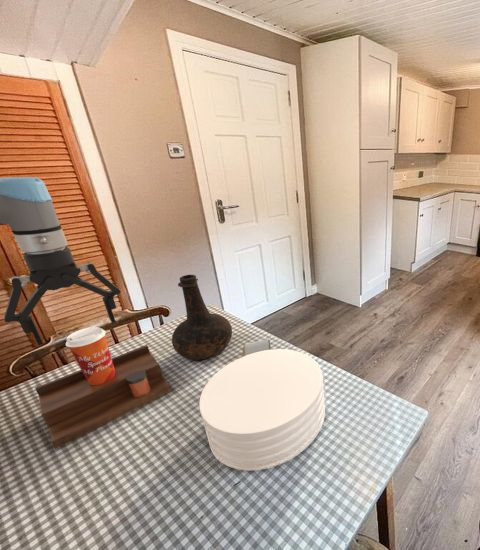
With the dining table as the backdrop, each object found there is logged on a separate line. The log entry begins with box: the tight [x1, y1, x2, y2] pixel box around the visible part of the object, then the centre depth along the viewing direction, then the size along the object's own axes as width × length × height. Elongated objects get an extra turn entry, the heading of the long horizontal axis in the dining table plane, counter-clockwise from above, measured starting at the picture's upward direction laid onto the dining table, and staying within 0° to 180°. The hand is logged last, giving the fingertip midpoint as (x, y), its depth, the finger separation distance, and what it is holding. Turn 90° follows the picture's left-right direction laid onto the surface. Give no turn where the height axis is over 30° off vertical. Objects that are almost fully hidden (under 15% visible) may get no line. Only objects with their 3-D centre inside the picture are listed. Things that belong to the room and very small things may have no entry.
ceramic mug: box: [242, 338, 272, 357], centre depth 95 cm, size 11×8×8 cm
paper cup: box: [65, 326, 115, 385], centre depth 79 cm, size 8×8×14 cm
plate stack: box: [198, 348, 326, 472], centre depth 75 cm, size 28×28×12 cm
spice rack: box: [34, 344, 173, 449], centre depth 81 cm, size 16×24×9 cm, turn 138°
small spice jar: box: [126, 371, 151, 397], centre depth 81 cm, size 4×4×5 cm
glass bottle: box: [171, 274, 233, 361], centre depth 99 cm, size 18×18×28 cm
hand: (78, 331), depth 76 cm, fingers open, 13 cm apart
